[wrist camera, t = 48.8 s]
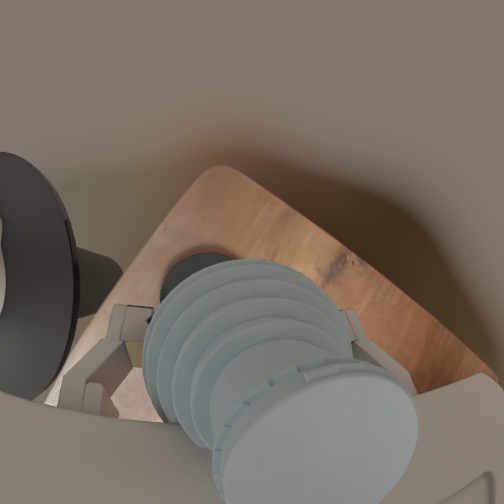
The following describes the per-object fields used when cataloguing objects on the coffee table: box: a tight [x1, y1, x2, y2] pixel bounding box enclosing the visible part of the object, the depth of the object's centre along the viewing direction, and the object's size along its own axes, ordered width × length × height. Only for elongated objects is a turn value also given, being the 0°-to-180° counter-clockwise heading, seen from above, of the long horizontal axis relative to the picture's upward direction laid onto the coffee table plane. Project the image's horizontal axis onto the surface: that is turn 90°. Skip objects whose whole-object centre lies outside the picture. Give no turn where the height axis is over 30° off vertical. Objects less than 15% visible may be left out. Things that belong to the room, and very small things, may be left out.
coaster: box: [160, 253, 233, 304], centre depth 30 cm, size 10×10×1 cm
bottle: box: [142, 259, 418, 504], centre depth 12 cm, size 6×6×20 cm
